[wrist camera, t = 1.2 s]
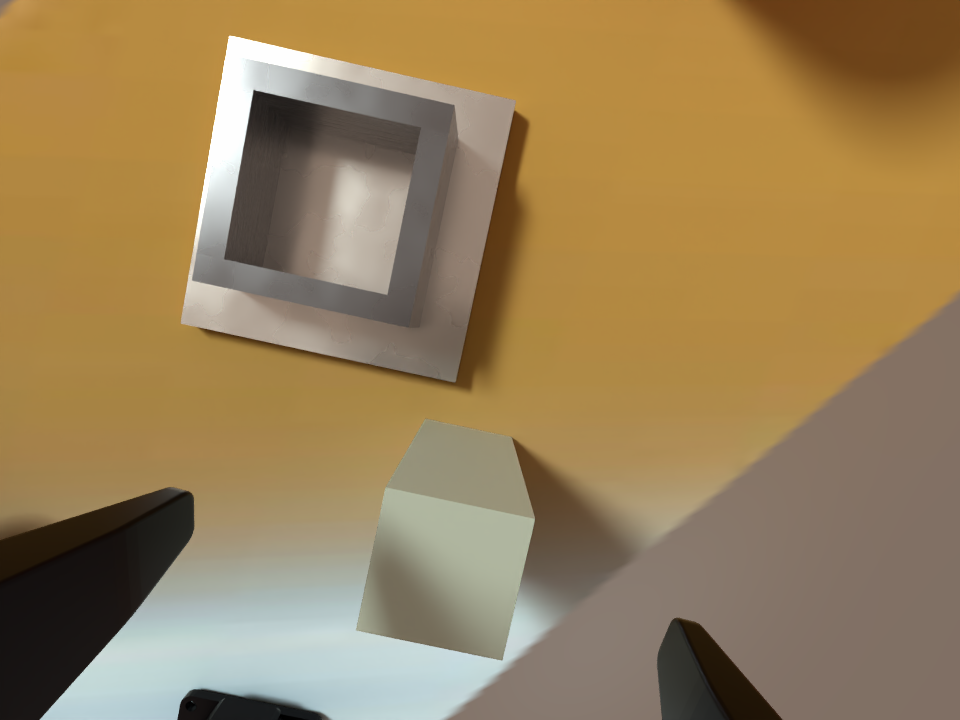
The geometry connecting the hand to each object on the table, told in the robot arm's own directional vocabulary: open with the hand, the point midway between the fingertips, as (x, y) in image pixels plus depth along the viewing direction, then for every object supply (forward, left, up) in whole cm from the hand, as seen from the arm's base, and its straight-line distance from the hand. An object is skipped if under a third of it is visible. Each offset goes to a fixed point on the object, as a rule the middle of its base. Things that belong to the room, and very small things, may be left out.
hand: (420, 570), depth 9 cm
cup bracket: (+8, +6, -13) cm, 16 cm away
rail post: (-2, -1, -13) cm, 13 cm away
